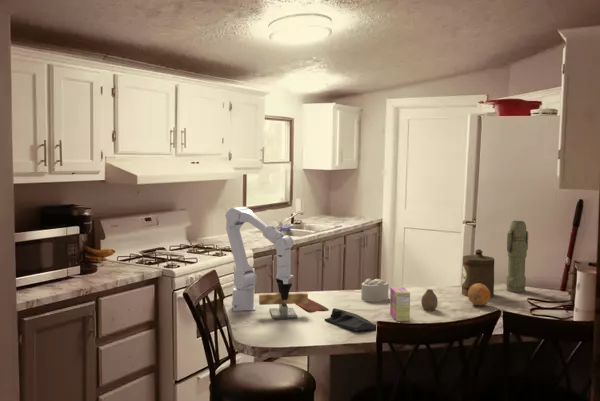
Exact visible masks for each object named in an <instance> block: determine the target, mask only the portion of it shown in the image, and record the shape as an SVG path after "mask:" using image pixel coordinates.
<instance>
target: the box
mask: <svg viewBox="0 0 600 401" xmlns="http://www.w3.org/2000/svg"><path fill="white" fill-rule="evenodd" d="M389 295H390V297H389V298H390V299H389V303H390V304H389V305H390V306H389V307H390V308H389V312H390V313H389V314H390V316H391V317H392V318H393V319H394V320H395V322H410V321H411V320H410V319H411V316H410V314H411V312H410V311H411V292H410V291H409V290H407V289H406V288H405V286H390V289H389Z"/></svg>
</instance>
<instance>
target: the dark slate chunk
mask: <svg viewBox="0 0 600 401" xmlns="http://www.w3.org/2000/svg"><path fill="white" fill-rule="evenodd" d="M324 321H326V322H328V323H331V324H333V325H335V326H337V325H338V326H337V327H342V328H344V329H346V330H350V331H353V332H362V331H363V332H364V331H377V330H376V325H377V324H376V323H373V322H371V321H370V320H368V319H367V318H365V317H363V316H361V315H359V314H356V313H353V312H350V311H347V310H345V309H339V308H333V309H332V311H331V314H330V317H327V318H324Z"/></svg>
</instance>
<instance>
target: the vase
mask: <svg viewBox="0 0 600 401" xmlns="http://www.w3.org/2000/svg"><path fill="white" fill-rule="evenodd" d="M438 303H439V301H438V297H437V295H436V294H435V292H434V290H433V289H432V288H431V289H430V288H428V289H426V291H425V292H424V293H423V295H422V296H421V307H422V309H424V310H425V311H427V312H433V311H435V310H436V309H437V307H438Z"/></svg>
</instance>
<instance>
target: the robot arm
mask: <svg viewBox="0 0 600 401" xmlns="http://www.w3.org/2000/svg"><path fill="white" fill-rule="evenodd" d="M225 218H226V225H225V229H226V233H227V237H228V241H229V245H230V249H231V253H232V257H233V261H234V264H235V269H234V271H233V285H234V286H235V288H232V295H231V296H232V297H231V298H232V301H231V306H232V311H233V312H235V311H236V312H239V311H241V312H243V311H255V310H256V307H255V301H254V300H255V285H256V284H257V281H258V276H257V274H256V273H255V271H254V268H253V267H252V266H251V265H250V264H249V261H248V257H247V254H246V250H245V244H244V243H243V237H242V234H241V231H240V230H241V228H242V226H243V225H244V224H245V223H249V224H250V225H252V226H253V227H255V228H256V229H257V230H259V231H260V232H262V236H263V237H264V238H265V239H266V240H267V241H268V242H270V243H271V244H273V246H274V249H275V250H276V252H275V253H276V277H275V281H276V283H277V287H278V293H281V297H282V300H287V299H288V294H289V293H290V290H291V288H292V285H293V283H292V282H289V280H290V279H291V278H294V275H293V274H291V272H292V271H291V269H292V268H291V265H292V264H291V261H292V260H291V252H292V251H291V250H292V248H293V246H294V239H293V238H292V237H291V235H288V234H286V235H285V234H284V232H281V231H280V230H279V229H277V227H276V226H275V225H272V224H269V225H267V224H266V223H265V222H264V221H263V220H262V219H260V218H259V217H258V216H257V215H256V214H255V213H254V211H253V210H252V209H250V208H249V207H247V206H239V207H231V208H229V209H228V210H227V212H226V214H225Z"/></svg>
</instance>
